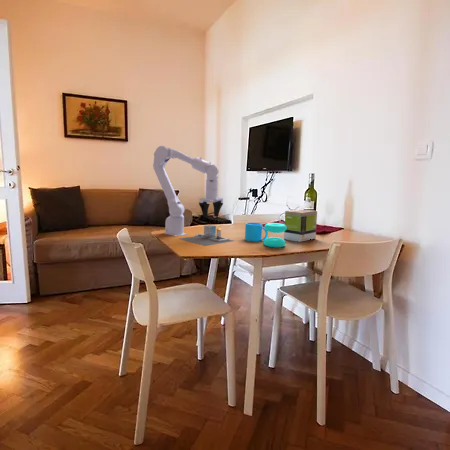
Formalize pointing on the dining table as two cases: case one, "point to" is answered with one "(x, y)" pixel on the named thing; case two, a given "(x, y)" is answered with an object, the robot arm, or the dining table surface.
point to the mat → (202, 240)
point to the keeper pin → (218, 234)
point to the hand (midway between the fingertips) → (210, 216)
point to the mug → (254, 232)
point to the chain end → (211, 233)
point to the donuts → (275, 240)
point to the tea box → (300, 225)
